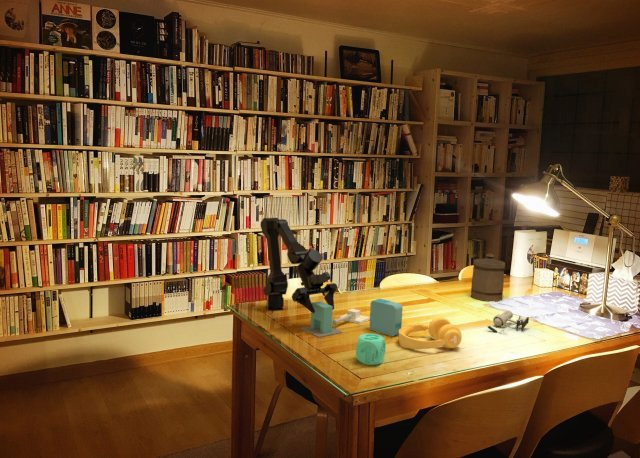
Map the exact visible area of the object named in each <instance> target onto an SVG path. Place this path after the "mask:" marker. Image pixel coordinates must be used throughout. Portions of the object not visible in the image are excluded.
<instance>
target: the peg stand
mask: <svg viewBox="0 0 640 458" xmlns="http://www.w3.org/2000/svg"><path fill="white" fill-rule="evenodd" d="M361 312H362V310H361V309H356V308H349V309H347V310H346V313H345V314H342V315H340V316H339V318H335V319H332V325H337V324H339V322H342V321H346V322H350V323H354V324H358V325H361V324H363V323H366V322H368V321H370V316H367V315H362V314H361Z"/></svg>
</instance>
